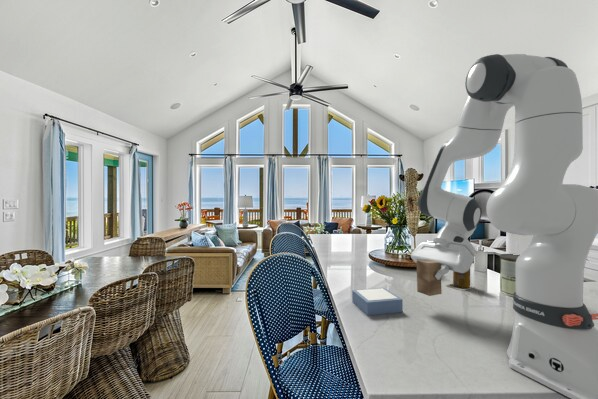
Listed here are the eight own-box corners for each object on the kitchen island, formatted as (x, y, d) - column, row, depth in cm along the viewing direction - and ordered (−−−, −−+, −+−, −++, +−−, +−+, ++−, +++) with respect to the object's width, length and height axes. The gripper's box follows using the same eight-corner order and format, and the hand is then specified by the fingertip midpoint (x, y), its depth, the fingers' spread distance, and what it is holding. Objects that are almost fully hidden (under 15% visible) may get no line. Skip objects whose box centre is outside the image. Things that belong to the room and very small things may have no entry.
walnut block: (441, 293, 90) (440, 261, 90) (429, 295, 88) (428, 263, 88) (428, 289, 94) (428, 259, 94) (417, 291, 92) (416, 260, 93)
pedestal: (402, 311, 90) (402, 298, 90) (367, 315, 88) (367, 301, 88) (383, 298, 102) (383, 287, 102) (352, 301, 99) (352, 289, 99)
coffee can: (495, 288, 113) (495, 253, 113) (526, 290, 110) (526, 254, 110) (506, 297, 103) (506, 258, 103) (540, 299, 100) (540, 259, 100)
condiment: (474, 287, 114) (474, 257, 114) (464, 291, 110) (463, 260, 110) (456, 282, 121) (456, 254, 121) (445, 286, 116) (445, 257, 116)
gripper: (419, 234, 104) (398, 263, 100) (472, 239, 85) (449, 276, 81) (428, 246, 105) (408, 275, 101) (482, 253, 86) (461, 290, 82)
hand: (427, 275), depth 91 cm, fingers closed on walnut block, 5 cm apart
